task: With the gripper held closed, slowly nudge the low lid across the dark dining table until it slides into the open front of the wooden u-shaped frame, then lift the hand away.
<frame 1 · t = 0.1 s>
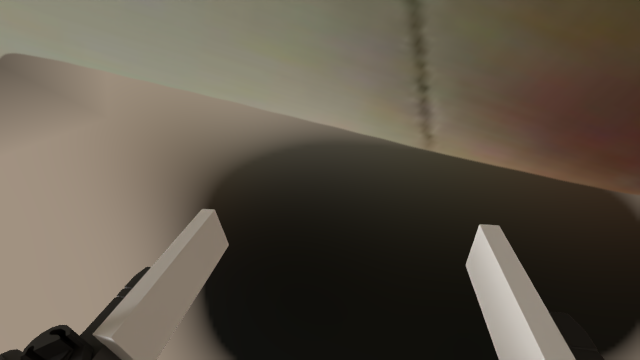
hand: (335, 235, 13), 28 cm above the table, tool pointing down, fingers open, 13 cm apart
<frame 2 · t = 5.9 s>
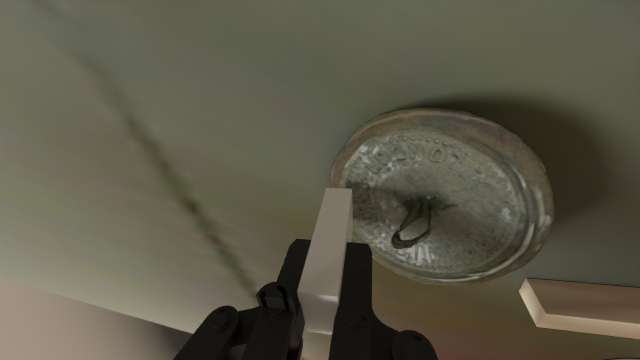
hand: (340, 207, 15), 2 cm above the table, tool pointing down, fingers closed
lid: (413, 183, 15), on the table, touching gripper
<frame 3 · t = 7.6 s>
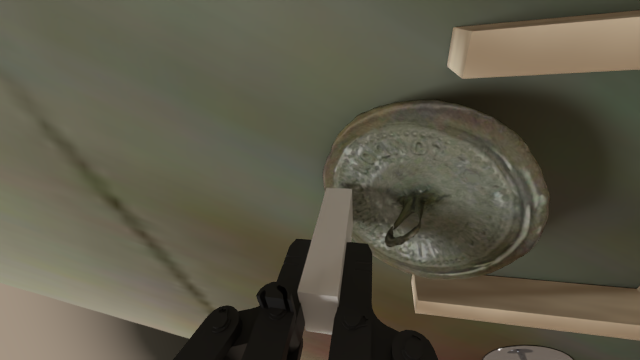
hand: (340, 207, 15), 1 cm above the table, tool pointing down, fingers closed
wooden u-shaped frame: (563, 197, 14), on the table
lid: (407, 178, 15), on the table, touching gripper
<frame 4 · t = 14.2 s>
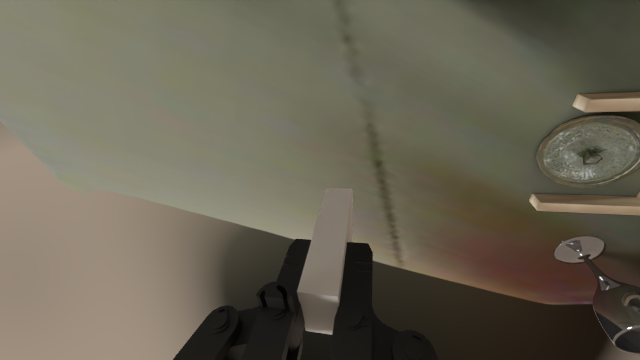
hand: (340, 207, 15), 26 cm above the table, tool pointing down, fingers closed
wooden u-shaped frame: (608, 154, 35), on the table
lid: (576, 145, 36), on the table
wine glass: (578, 249, 45), on the table
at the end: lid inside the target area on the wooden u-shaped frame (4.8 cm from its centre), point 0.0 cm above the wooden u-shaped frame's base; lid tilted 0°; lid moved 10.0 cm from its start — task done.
